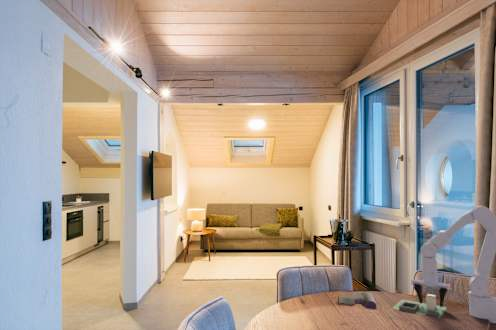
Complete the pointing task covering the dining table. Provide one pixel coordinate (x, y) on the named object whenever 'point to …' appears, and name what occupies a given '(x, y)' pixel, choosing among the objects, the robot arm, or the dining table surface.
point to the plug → (431, 301)
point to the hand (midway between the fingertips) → (431, 304)
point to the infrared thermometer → (358, 299)
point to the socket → (403, 308)
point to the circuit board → (423, 309)
